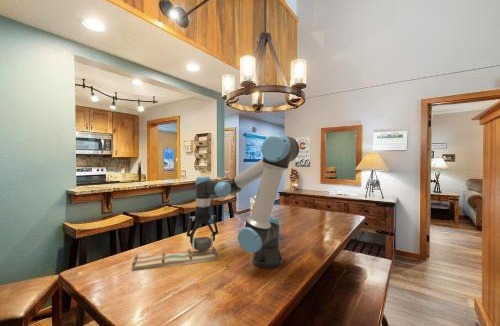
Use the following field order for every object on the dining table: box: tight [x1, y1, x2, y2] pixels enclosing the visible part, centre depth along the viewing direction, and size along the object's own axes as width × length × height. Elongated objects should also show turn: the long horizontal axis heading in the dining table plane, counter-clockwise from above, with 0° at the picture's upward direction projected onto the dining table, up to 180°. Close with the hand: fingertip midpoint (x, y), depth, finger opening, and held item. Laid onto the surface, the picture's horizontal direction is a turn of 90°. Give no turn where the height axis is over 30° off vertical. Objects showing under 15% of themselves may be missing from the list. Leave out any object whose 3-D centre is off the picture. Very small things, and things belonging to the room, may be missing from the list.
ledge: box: [131, 246, 219, 272], centre depth 121 cm, size 11×40×4 cm, turn 108°
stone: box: [190, 236, 211, 251], centre depth 127 cm, size 9×9×10 cm
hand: (202, 248), depth 125 cm, fingers closed on stone, 9 cm apart
